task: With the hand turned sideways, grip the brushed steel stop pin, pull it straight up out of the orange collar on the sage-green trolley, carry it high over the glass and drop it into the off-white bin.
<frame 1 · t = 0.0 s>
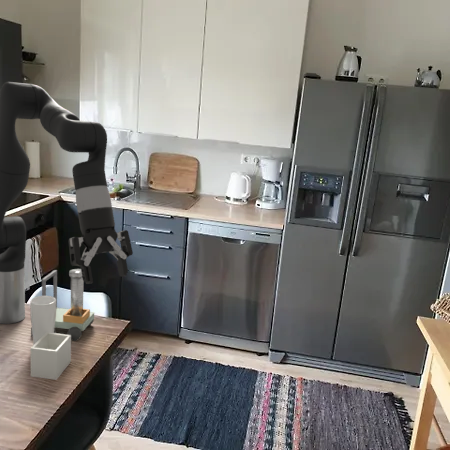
hand: (106, 279, 103), 31 cm above the table, tool tilted 20°, fingers open, 8 cm apart
bin: (51, 368, 123), on the table
trolley: (68, 330, 144), on the table
rubber chock: (37, 335, 140), on the table
drinking glass: (43, 349, 133), on the table
steel pin: (76, 318, 142), point 5 cm above the table, touching trolley
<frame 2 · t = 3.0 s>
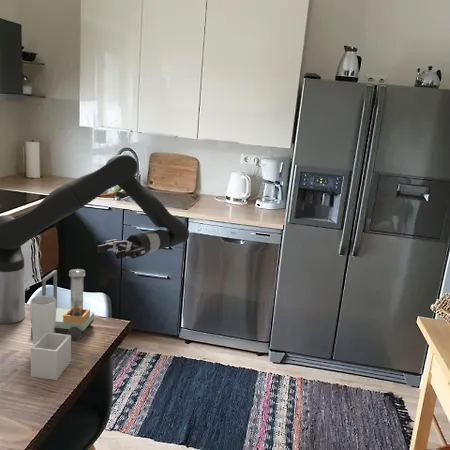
hand: (106, 252, 146), 24 cm above the table, tool horizontal, fingers open, 8 cm apart
nothing on the table moved.
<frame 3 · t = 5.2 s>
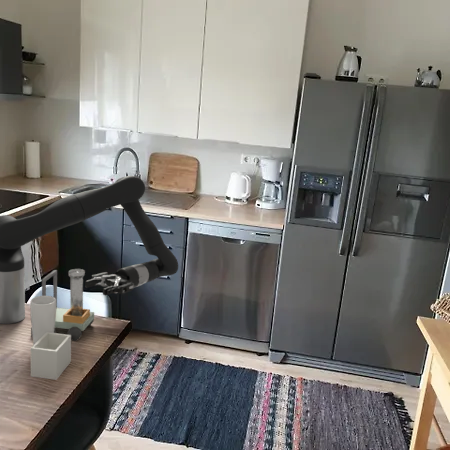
hand: (94, 288, 145), 13 cm above the table, tool horizontal, fingers open, 8 cm apart
nothing on the table moved.
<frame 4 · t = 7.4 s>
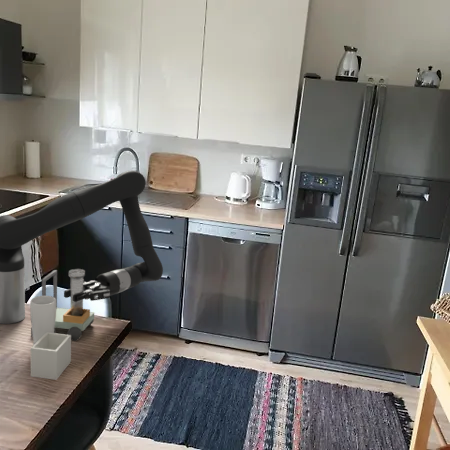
hand: (69, 296, 138), 13 cm above the table, tool horizontal, fingers closed on steel pin, 3 cm apart
steel pin: (76, 318, 142), point 5 cm above the table, touching gripper, trolley
everything else where it was.
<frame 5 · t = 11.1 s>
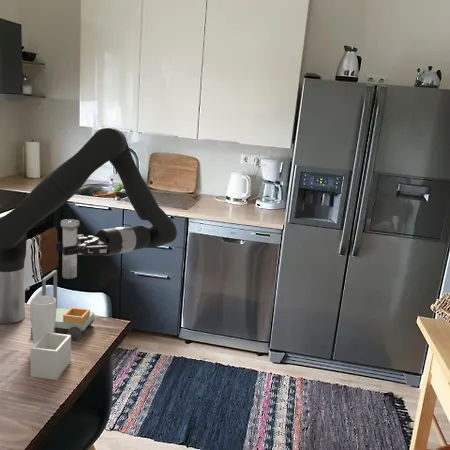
hand: (60, 249, 120), 32 cm above the table, tool horizontal, fingers closed on steel pin, 3 cm apart
steel pin: (69, 276, 124), point 24 cm above the table, touching gripper
everything else where it was.
when the fingers open (13 cm above the table, at t = 14.9 s): steel pin drops 3 cm, resting on bin.
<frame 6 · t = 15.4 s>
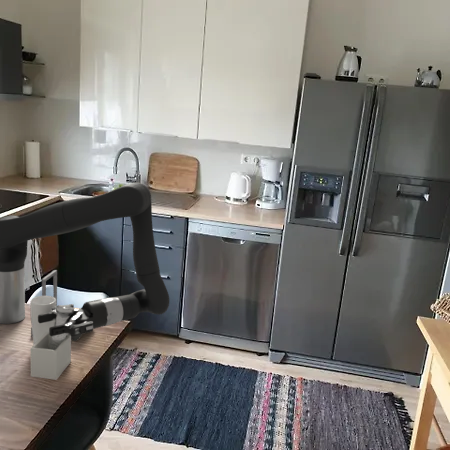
hand: (43, 325, 119), 13 cm above the table, tool horizontal, fingers open, 8 cm apart
steel pin: (52, 363, 123), point 2 cm above the table, tilted 16°, touching bin
everything else where it was.
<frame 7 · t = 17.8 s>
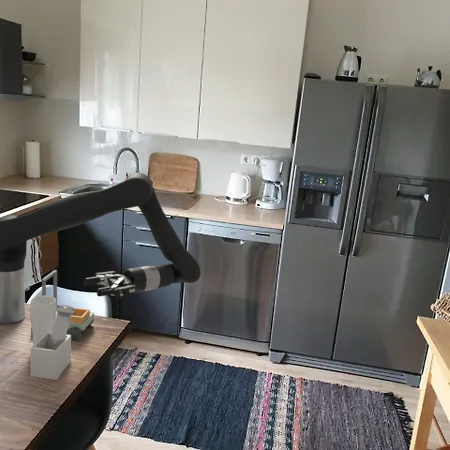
hand: (91, 287, 131), 19 cm above the table, tool horizontal, fingers open, 8 cm apart
nothing on the table moved.
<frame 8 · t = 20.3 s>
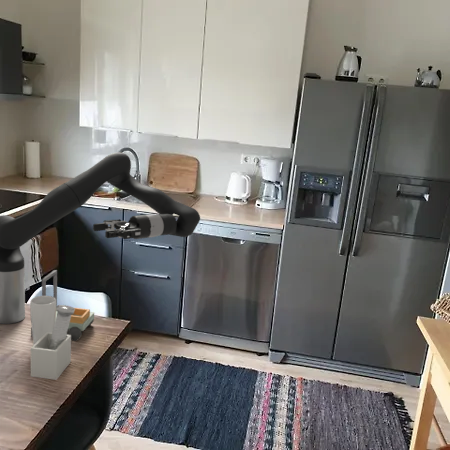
hand: (99, 231, 140), 32 cm above the table, tool horizontal, fingers open, 8 cm apart
nothing on the table moved.
at the end: steel pin inside the target area on the bin (0.2 cm from its centre), point 1.5 cm above the bin's base; the gripper is holding nothing; steel pin moved 20.6 cm from its start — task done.
